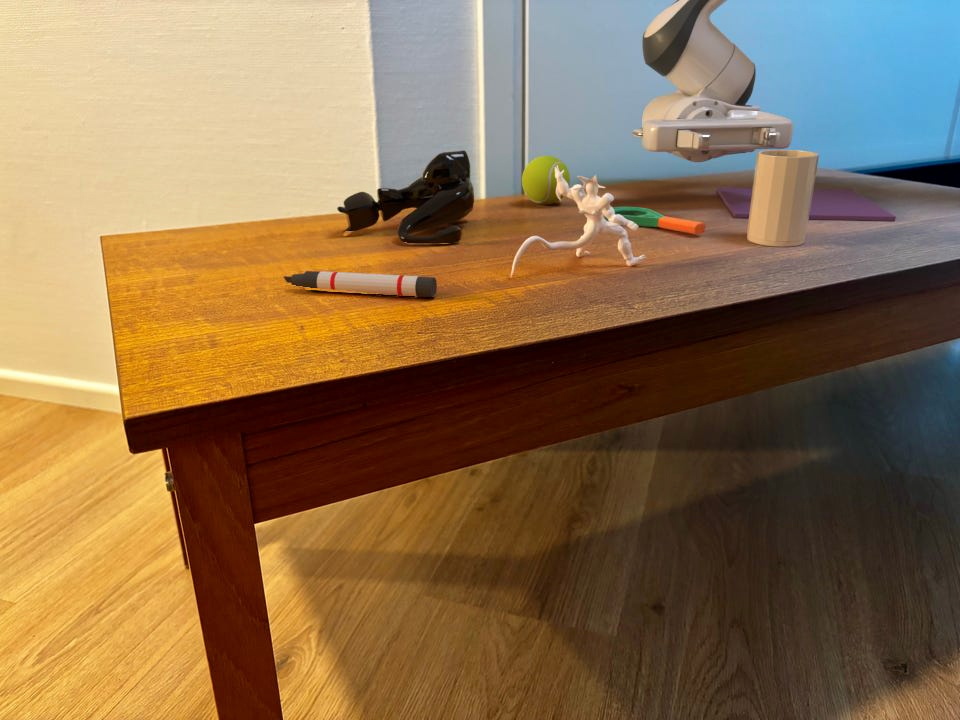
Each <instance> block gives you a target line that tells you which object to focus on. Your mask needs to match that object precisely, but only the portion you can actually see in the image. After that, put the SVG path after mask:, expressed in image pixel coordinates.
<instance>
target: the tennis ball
mask: <svg viewBox="0 0 960 720" xmlns="http://www.w3.org/2000/svg"><path fill="white" fill-rule="evenodd" d="M557 165H558V168H559V171H560V172H562V171H563V170H564V172H563V174H562V175H563V176H562V177H563V178H564V180H565V181H566V182H567V183H568V186H569V187H570V186H571V185H570V184H571V174H570V171H569V168H568V167H567V165H566V164H565V163H564V162H563V161H562V160H561V159H559V158H558V157H555V156H552V155H541V156H538V157H535V158H533V159H531V161H529V162H528V164H527V165H526V166H525V168H524V170H523V172H522V176H521V185H522V186H521V187H522V189H523V192H524V194H525V195H526V196H527V198H528V199H529V200H530V201H532V202H534V203H535V204H538V205H543V206H549V205H553V204H555V203H557V202H559V201H560V200H559V199H558V197H557V195H556V187H557V179H556V177H555V167H556V168H557ZM564 197H565V196H563V195H560V198H561V200H562V199H563V198H564Z"/></svg>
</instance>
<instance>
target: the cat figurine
mask: <svg viewBox="0 0 960 720" xmlns="http://www.w3.org/2000/svg"><path fill="white" fill-rule="evenodd" d="M376 197H377V201H376V200H375V199H374V197H373V195H371V194H370V193H368V192H366V191H359V192H356V193H354V194H351V195H350V196H347V198H345V199H344V201H343V206H337V208H336V209H337V211H338V212H339V213H342V214H345V217H346V222H347V226H348V227H346V228H345V229H344V230H345V231H354V232H357V231H361V230H364V229H368V228H370V227H373V226H374V225H376V224H377V223H378V221H379V219H380V216H381V219H382V221H383V222H387V221H389V220H391V219H392V218H394V217H396V216H397V215H399V214H400V213H401V212H403V211H404V210H408V209H414V210H413V211H410V213H408V214H407V215H406V216H404V217H403V218H402V220H401V221H400V222H399V225H398V227H397V236H398V239H399V241H401V243H403V242H407V243H432V244H437V243H453V244H455V243H454V242H457V243H459V242H460V241H461V239H462V236H463V231H462V228H461V227H460V226H458V225H456V224H453V223H456V222H459V221H460V220H462V219H464V218H465V217H467V216H468V215H469V214H470V213H471V212H472V211H473V209H474V204H475V193H474V186H473V183H472V181H471V162H470V158H469V155H468V153H467V151H466V150H457V151H456V150H455V151H444V152H440V153H438V154H437V155H435V156H434V157H433V158H432V159H431V160H430V161H429V162H428V164H427V165H426V167H425V168H424V170H423V172H422V175H421V176H420V177H418V178H416V179H415V180H414V181H412V182H411V183H410V184H408V186H406V187H403V188H400V189H398V188H397V189H396V188H389V187H379V188H377V189H376ZM450 224H451V225H450ZM447 225H448V226H447ZM442 226H447V227H445V228H443V229H439V230H437V231H436V232H435V233H434V234H433V235H426V236H425V235H423V236H421V235H419V236H417V235H416V236H414V235H412V234H414V233H417V232H422V231H425V230H430V229H434V228H438V227H442Z"/></svg>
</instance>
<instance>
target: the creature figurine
mask: <svg viewBox="0 0 960 720" xmlns="http://www.w3.org/2000/svg"><path fill="white" fill-rule="evenodd" d="M563 172H564V170H563V171H562V172H560V171H559V168H558V165H557V168H556V167H555V177H556V179H557V187H556V195H557V197H558V199H559V201H560V202H562V199H561V198H560V195H563V196H564V197H567V198H568V199H571V200H573V201H574V202H575V203H576V205H577V208H578V214H580V215H584V216H585V218H586V223H585V224H584V226H583V235H580V238H579V239H577V240H573V241H562V240H561V241H555V242H549V241H547V240H546V239H544V238H543V237H540V236H539V235H532V236H530V237H528V238H526V239H525V241H523V242H522V244H521V245H520V247H519V249H518V250H517V251H516V254H515V256H514V259H513V262H512V268H511V272H510V277H509V278H511V279H512V278H513V277H514V274H515V271H516V268H517V266H518V264H519V261H520V260H521V258H522V255H523V254H524V252H525V251H526V250H527V249H528V248H529V247H530V246H531V245H532V244H534V243H536V242H539V243H540V245H542V246H543V247H544V248H545V249H546V250H548V251H559V250H560V251H562V250H563V251H565V250H566V251H568V250H569V251H572V250H576V252H575V255H576V257H578V258H582V257H584V256H585V255H591V252H590V251H587V250H588V249H589V248H590V246H591V244H592V242H593V241H594V239H595V238H596V237H597V236H598V235H600V236H607V237H609V238H612V239H618V242H617V250H618V251H619V253H621V255H622V257H623V260H625V262H626V266H627V267H633V266H634V265H637V264H638V263H640V262H642V261H643V260H645V259H647V257H646V254H641V255H639V256H634V255H633V252H632V243H631V242H630V241H629V234H628V231H627V230H626V229H625V228H624V227H627V228H629V229H631V230H632V231H638V230H639V227H640V226H638V225H637V224H635V223H634V222H632V221H630V220H627V219H626V218H624V217H623V216H622V215H620V214H615V211H614V209H613V206H611V203H612V202H613V201H614V200H615V197H614V195H613V194H611V193H610V192H606V193H604V194H603V195H602V196H599V195H598V192H599V189H606V186H603V185H600V184H599V182H598V178H597V174H594V176H593V177H592V178H587V177H585V176H582V175H576V176H577V178H578V179H579V180H580V181H581V182H582V183H583V185H582V184H579V183H577V184H574V185H572V187H570V185H569V186H568V183H567V182H566V181H565V180H564V178H563V177H562V176H563V175H562V174H563ZM614 214H615V215H614ZM605 217H606V218H607V219H608V220H609V221H606V220H605Z"/></svg>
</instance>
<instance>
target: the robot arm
mask: <svg viewBox="0 0 960 720" xmlns="http://www.w3.org/2000/svg"><path fill="white" fill-rule="evenodd" d="M727 1H728V0H676V1H674V2H673V3H672V4H670V5H669V6H668V7H666V8H665V9H664V10H662V11H661V12H660V13H658V14H657V15H656V16H655V17H654V18H653V19H652V21H650V23H649V24H648V26H647V28H646V29H645V31H644V32H643V34H642V40H641V41H642V56H643V61H644V63H645V65H646V66H648V67H649V68H651V69H652V70H653V71H655V72H656V73H657V74H659V75H660V76H661V77H664V78H665V79H667V80H668V81H669V82H670V83H671V84H672V85H673V86H674V87H675V88H676V90H675V91H673V92H671V93H669V94H663V95H659V96H657V97H655V98H653V99H652V100H651V101H649V102H648V104H646V106H645V108H644V110H643V112H642V116H641V127H640V128H638V129H637V128H636V129H633V130H632V136H633V137H635V138H641V146H642V147H643V148H644V149H645V150H646V151H648V152H652V153H653V152H654V153H668V154H670V155H671V154H672V155H674V156H675V157H678V158H680V159H683V160H686V161H689V162H693V163H704V162H708V161H710V160H712V159H718V158H721V157H725V156H730V155H739V154H746V153H753V152H755V151H756V150H786V149H787V148H789V147H790V146H791V143H792V139H793V133H794V123H793V120H792V119H790V118H788V117H784V116H781V115H778V114H776V113H775V114H774V113H772V112H766V111H761V107H760V106H758V105H750V104H747V103H748V102H749V100H750V99H751V96H752V94H753V91H754V87H755V83H756V77H757V76H756V73H757V72H756V70H757V69H756V65H755V63H754V62H753V61H752V59H750V58H749V57H748V56H747V55H746V54H745V53H744V52H743V51H742V49H740V48H739V46H737V45H736V44H735V43H734V42H732V41H731V40H730V39H729V38H728V37H727V36H726V35H724V33H722V31H721V30H719V29H718V27H717V26H715V24H713V23H712V21H711V19H710V17H711V15H712V13H714V12H715V11H716V10H717V9H718V8H720V7H721V6H722V5H724V3H725V2H727Z"/></svg>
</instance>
